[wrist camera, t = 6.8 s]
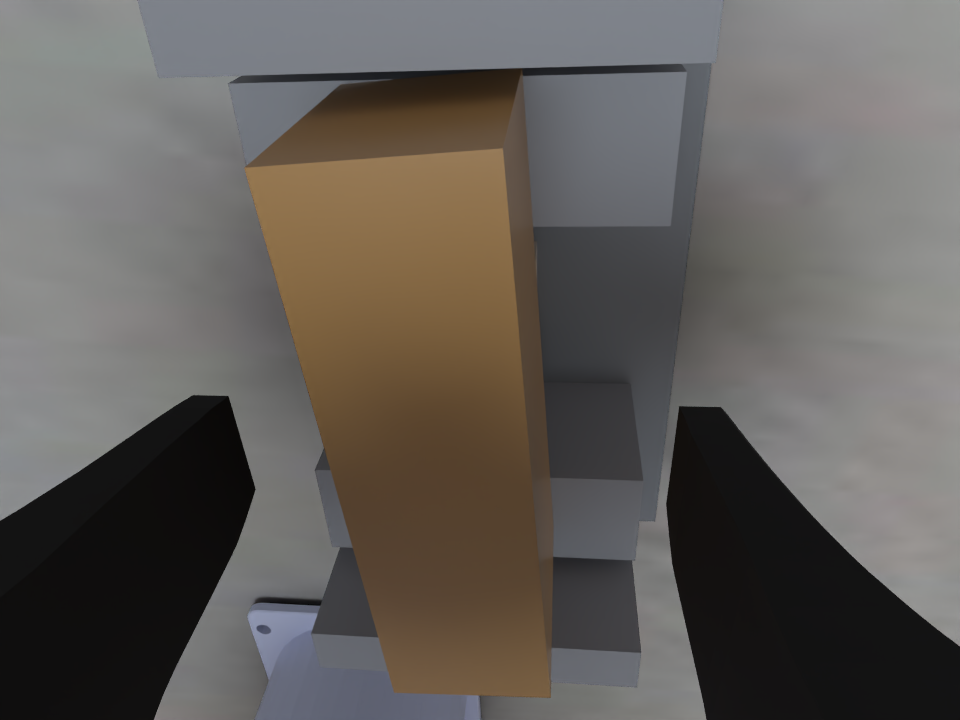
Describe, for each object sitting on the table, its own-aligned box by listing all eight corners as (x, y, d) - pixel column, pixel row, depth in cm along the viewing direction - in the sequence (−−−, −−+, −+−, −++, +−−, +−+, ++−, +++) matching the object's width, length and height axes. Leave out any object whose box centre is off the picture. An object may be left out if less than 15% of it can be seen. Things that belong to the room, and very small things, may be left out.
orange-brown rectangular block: (325, 85, 11) (221, 169, 8) (522, 67, 11) (502, 148, 7) (418, 527, 16) (380, 692, 13) (553, 527, 16) (550, 697, 12)
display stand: (651, 496, 21) (681, 706, 16) (352, 485, 22) (282, 680, 17) (722, -119, 13) (838, -125, 7) (241, -93, 14) (33, -83, 8)
